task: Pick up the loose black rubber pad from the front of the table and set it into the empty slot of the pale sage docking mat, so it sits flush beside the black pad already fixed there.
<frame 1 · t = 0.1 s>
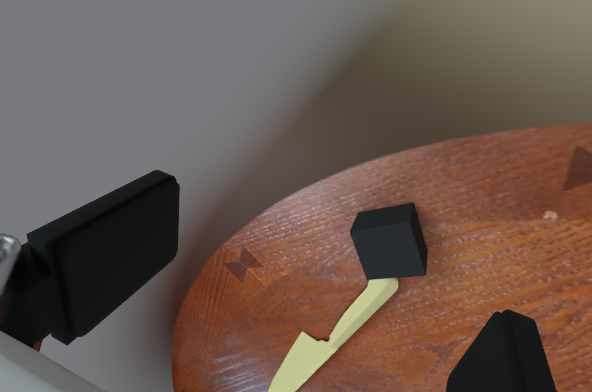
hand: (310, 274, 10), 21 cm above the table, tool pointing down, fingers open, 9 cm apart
knife: (310, 349, 42), on the table
loose pad: (392, 232, 31), on the table
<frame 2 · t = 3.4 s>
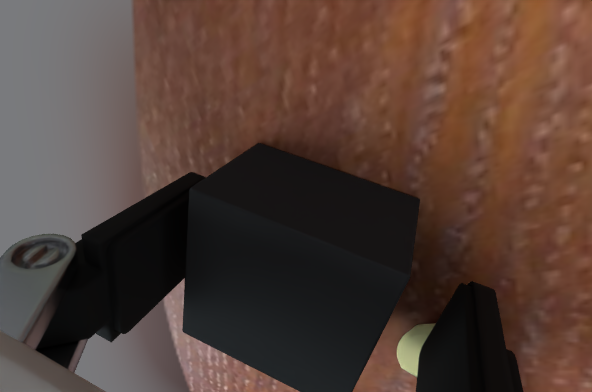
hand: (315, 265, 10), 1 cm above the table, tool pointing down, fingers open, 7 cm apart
loose pad: (315, 235, 11), on the table
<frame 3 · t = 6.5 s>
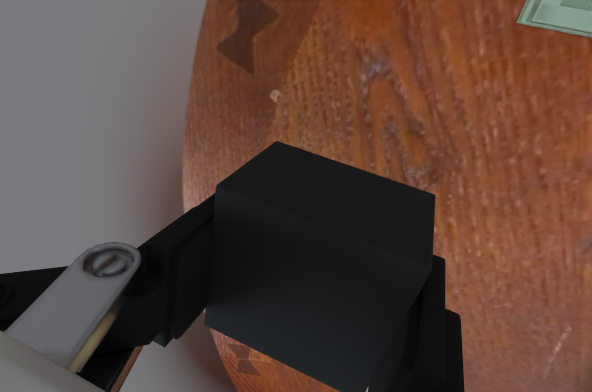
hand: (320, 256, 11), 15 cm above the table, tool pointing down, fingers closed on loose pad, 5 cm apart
loose pad: (331, 231, 12), point 13 cm above the table, touching gripper
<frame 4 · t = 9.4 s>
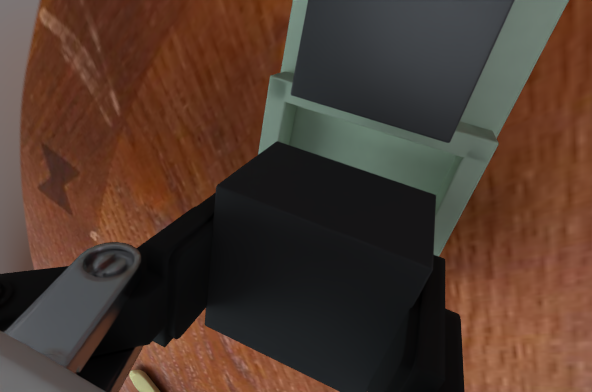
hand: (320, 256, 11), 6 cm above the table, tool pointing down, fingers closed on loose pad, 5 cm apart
dock mat: (374, 130, 15), on the table
loose pad: (332, 231, 12), point 5 cm above the table, touching gripper
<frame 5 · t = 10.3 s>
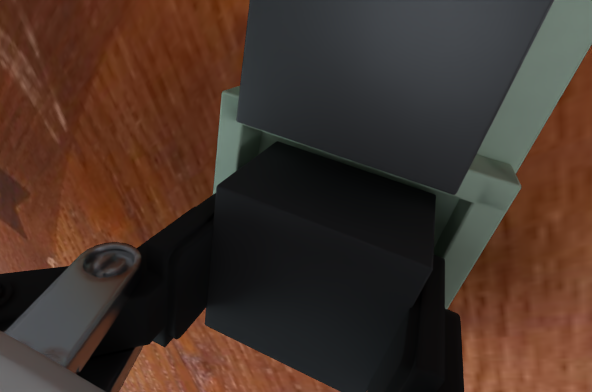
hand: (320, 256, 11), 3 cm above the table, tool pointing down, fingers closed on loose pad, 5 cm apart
dock mat: (360, 156, 12), on the table
loose pad: (332, 231, 12), point 2 cm above the table, touching gripper
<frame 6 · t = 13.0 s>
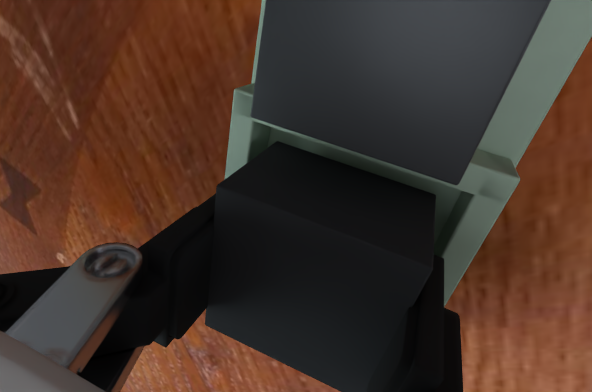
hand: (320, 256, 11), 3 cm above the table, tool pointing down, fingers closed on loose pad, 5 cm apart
dock mat: (365, 152, 12), on the table
loose pad: (332, 231, 12), point 2 cm above the table, touching gripper
when the fingers open (3 cm above the table, at t = 15.0 s): loose pad stays where it is, resting on dock mat.
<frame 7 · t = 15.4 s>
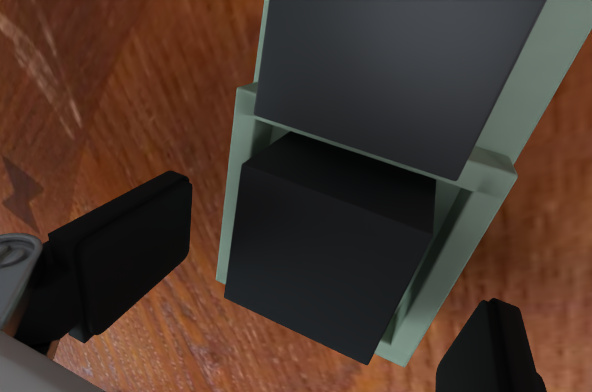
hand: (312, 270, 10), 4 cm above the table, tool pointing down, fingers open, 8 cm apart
dock mat: (365, 150, 12), on the table
loose pad: (340, 214, 13), point 1 cm above the table, touching dock mat
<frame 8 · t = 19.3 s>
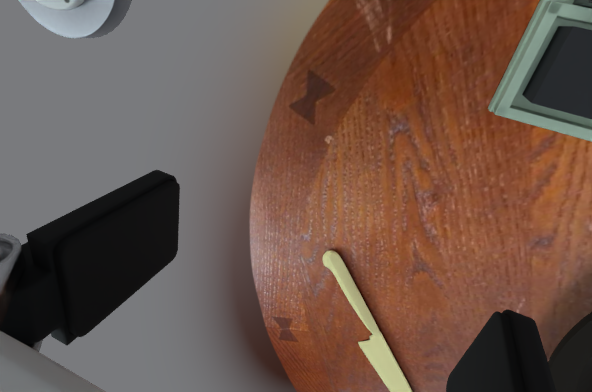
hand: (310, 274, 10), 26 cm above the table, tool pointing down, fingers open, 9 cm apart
knife: (380, 351, 46), on the table
dock mat: (588, 38, 25), on the table
loose pad: (575, 70, 26), point 1 cm above the table, touching dock mat
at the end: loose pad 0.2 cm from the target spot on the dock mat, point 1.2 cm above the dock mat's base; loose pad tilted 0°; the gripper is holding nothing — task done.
